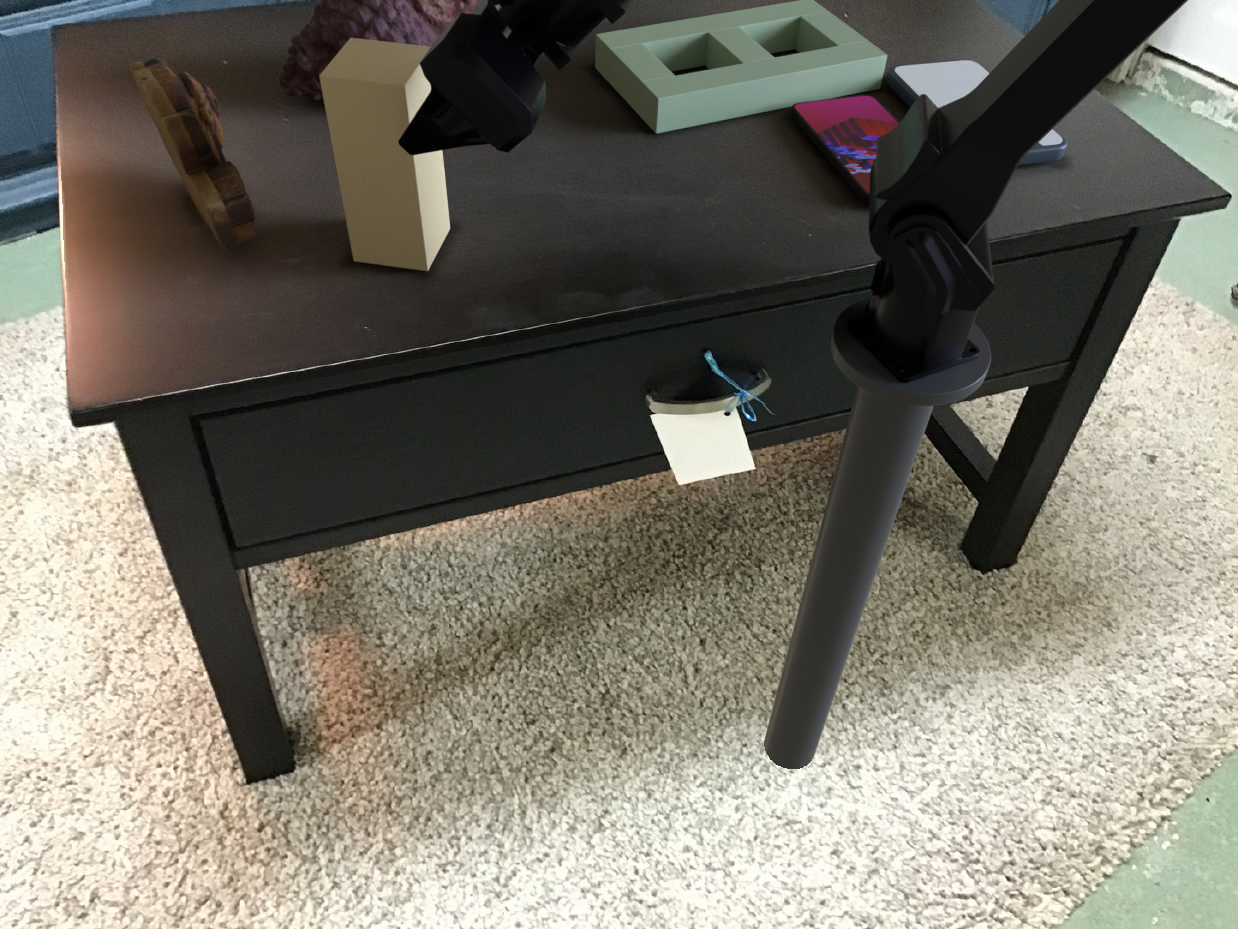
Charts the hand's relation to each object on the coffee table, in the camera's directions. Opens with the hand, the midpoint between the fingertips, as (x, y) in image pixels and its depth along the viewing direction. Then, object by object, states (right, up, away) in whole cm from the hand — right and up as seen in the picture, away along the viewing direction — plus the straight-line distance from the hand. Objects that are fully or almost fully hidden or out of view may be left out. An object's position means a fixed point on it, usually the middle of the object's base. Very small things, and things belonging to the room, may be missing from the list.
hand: (428, 110), depth 64 cm
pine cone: (-8, +10, +23) cm, 26 cm away
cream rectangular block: (-3, -7, +8) cm, 11 cm away
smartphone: (+31, +3, +18) cm, 36 cm away
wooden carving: (-17, -4, +10) cm, 20 cm away
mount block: (+22, +12, +26) cm, 36 cm away
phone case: (+41, +7, +22) cm, 47 cm away
